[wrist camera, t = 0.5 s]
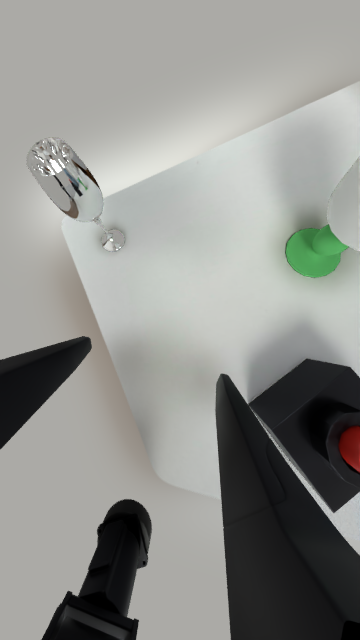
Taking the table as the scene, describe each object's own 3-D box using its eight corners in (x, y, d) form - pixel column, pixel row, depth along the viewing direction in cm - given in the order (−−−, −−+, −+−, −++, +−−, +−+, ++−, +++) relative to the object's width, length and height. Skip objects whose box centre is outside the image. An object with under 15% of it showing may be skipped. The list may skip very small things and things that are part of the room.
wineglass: (93, 236, 26) (12, 151, 14) (118, 221, 26) (61, 123, 14) (107, 260, 25) (35, 192, 13) (133, 244, 25) (86, 162, 13)
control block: (291, 463, 20) (355, 539, 12) (248, 404, 21) (281, 442, 14) (353, 413, 20) (450, 458, 13) (307, 358, 21) (371, 370, 14)
